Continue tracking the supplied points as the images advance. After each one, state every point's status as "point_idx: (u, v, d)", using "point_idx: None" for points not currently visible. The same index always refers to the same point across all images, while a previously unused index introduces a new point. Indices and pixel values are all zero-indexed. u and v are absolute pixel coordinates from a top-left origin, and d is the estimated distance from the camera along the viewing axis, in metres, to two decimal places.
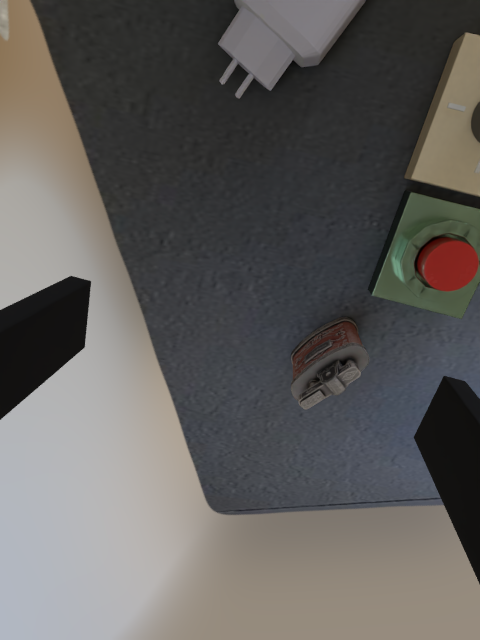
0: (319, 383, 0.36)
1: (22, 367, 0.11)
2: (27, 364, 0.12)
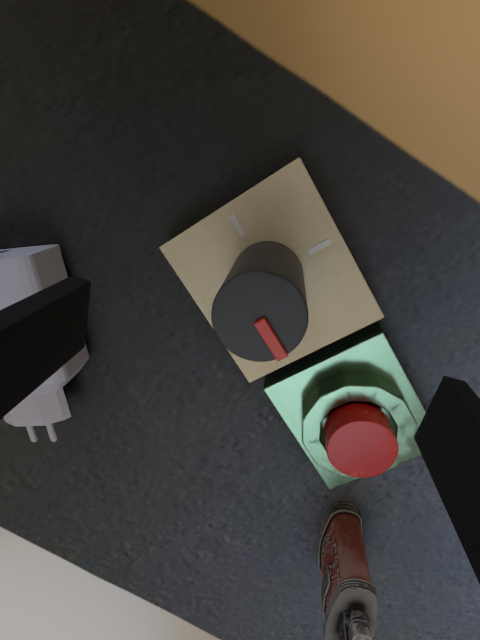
0: None
1: (22, 367, 0.11)
2: (27, 364, 0.12)
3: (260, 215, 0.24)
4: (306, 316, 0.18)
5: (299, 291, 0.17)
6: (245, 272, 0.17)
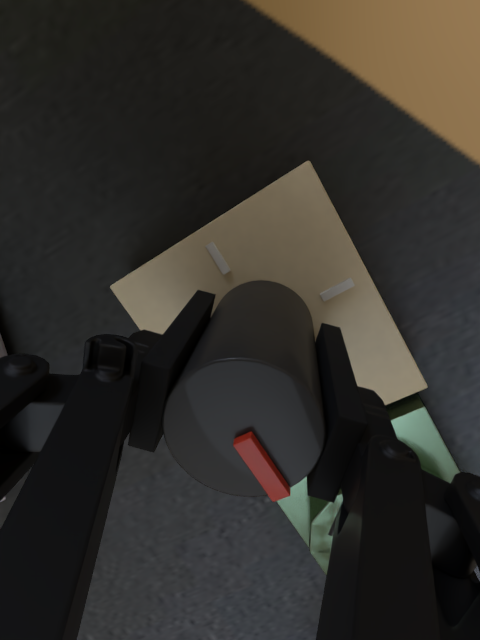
0: None
1: None
2: None
3: (250, 245, 0.16)
4: (322, 432, 0.10)
5: (311, 392, 0.10)
6: (217, 359, 0.10)
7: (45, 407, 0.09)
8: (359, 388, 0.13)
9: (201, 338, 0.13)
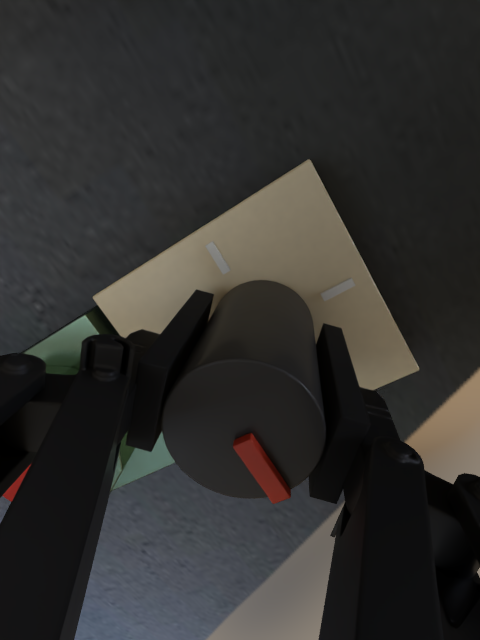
0: None
1: None
2: None
3: (348, 320, 0.17)
4: (323, 434, 0.10)
5: (311, 394, 0.10)
6: (217, 360, 0.10)
7: (42, 407, 0.09)
8: (360, 388, 0.13)
9: (201, 338, 0.13)
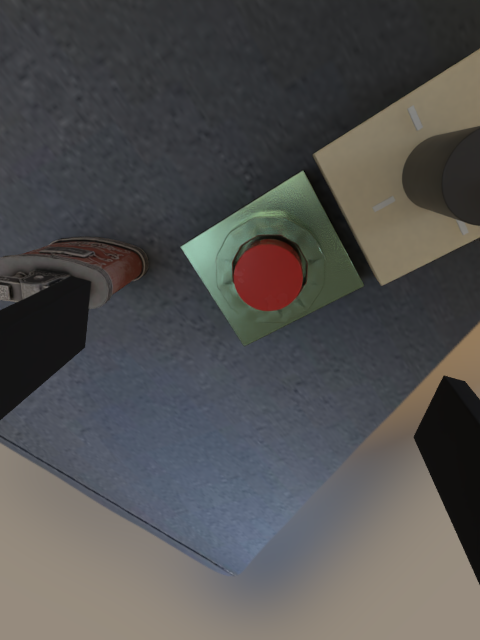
0: None
1: (22, 367, 0.11)
2: (28, 364, 0.12)
3: None
4: None
5: None
6: None
7: None
8: None
9: (440, 143, 0.20)
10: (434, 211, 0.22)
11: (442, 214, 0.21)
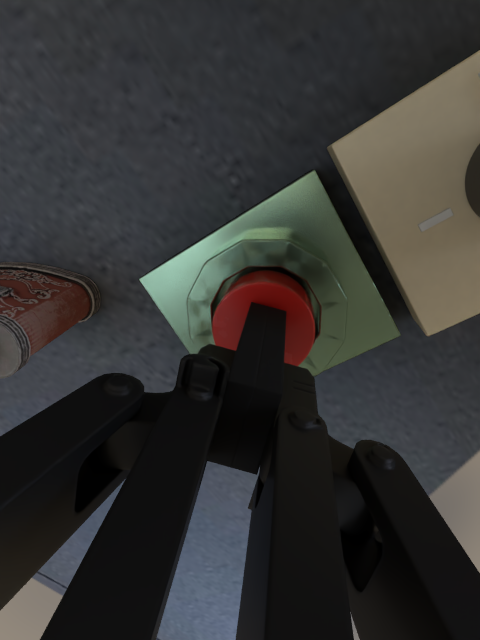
0: None
1: None
2: None
3: None
4: None
5: None
6: None
7: (143, 426, 0.09)
8: (292, 366, 0.13)
9: None
10: None
11: None
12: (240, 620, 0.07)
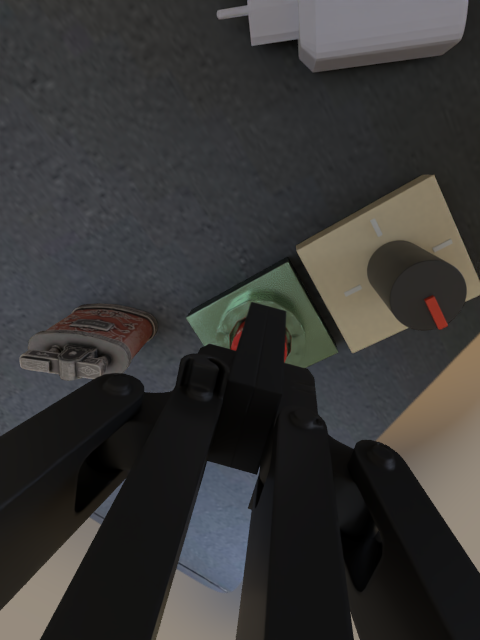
0: (56, 355, 0.29)
1: None
2: None
3: None
4: (465, 295, 0.24)
5: (462, 276, 0.23)
6: (422, 261, 0.23)
7: (143, 427, 0.09)
8: (292, 366, 0.13)
9: (391, 261, 0.26)
10: None
11: None
12: (240, 620, 0.07)
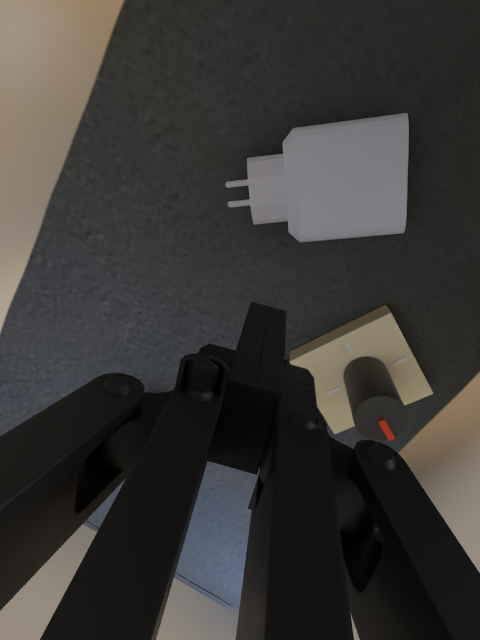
0: None
1: None
2: None
3: (403, 373, 0.40)
4: (406, 418, 0.33)
5: (404, 406, 0.33)
6: (375, 396, 0.33)
7: (143, 427, 0.09)
8: (292, 366, 0.13)
9: (357, 385, 0.36)
10: None
11: None
12: (240, 620, 0.07)
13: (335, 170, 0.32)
